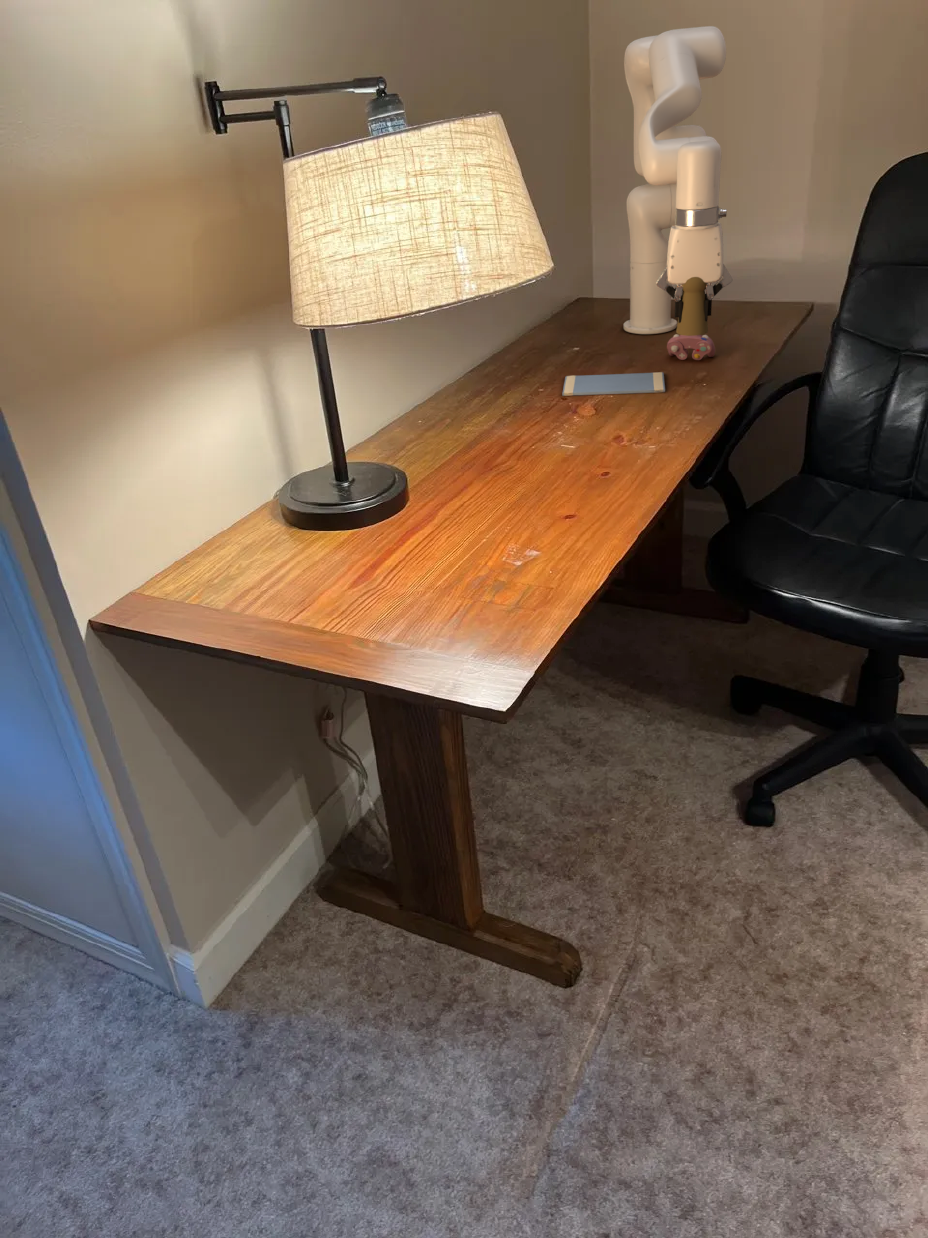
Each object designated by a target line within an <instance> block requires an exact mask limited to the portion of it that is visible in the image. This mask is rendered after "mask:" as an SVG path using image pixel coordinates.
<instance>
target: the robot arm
mask: <svg viewBox="0 0 928 1238" xmlns="http://www.w3.org/2000/svg"><path fill="white" fill-rule="evenodd" d="M726 43H727V42H726V40H725V36H724V34H723V32H722V30H721V29H719V27H717V26H714V25H707V26H695V27H687V28H675V29H670V30H666V31H663V32H662V33H660V34H657V35H650V36H645V37H640V38H637V39H634V40H633V41H631V42H630V43H629V44H628V45H627V46H626V48H625V50H624V57H623V66H624V67H623V68H624V76H625V81H626V84H627V88H628V91H629V94H630V97H631V101H632V107H633V166H634V169H635V172H636V173H637V174H638V175H639V176H641V177H643V178H644V179H645V181H646V183H645V184H641V185H638V186H636V187H634V188H633V189H631V190H630V192H629V193H628V195H627V198H626V214H627V221H628V229H629V230H628V231H629V243H630V245H629V246H630V247H629V248H630V249H629V251H630V254H629V256H630V257H629V259H630V260H629V269H630V270H629V320H626V321H624V323H623V330H624V331H625V332H627V333H630V334H636V335H656V334H664V333H667V332H672V331H674V330H675V329H677V323H678V320H676V319H675V318H678V317H679V323H680V322H681V319H682V311H683V301H682V292H683V291H682V290H683V287H682V284H684V283H686V281H687V280H688V279H690V278H692V277H699V278H701V279H702V280H703V281H704V282H705V283H707V284H706V289H705V300H704V312H705V321H707V322H708V317H711V316H712V309H713V308H712V307H713V306H712V305H713V299H714V298H715V296H717V294H719V293H720V292H721V290H722V289H723V288H725V287H727V286H728V285H730V284H731V283H732V282H733V277H732V275H731V273H730V272H729V270H728V269H727V267H726V265H725V264H724V240H723V239H724V237H723V227H722V223H721V222H719V220H720V219H722V218H727V215H728V214H727V211H728V209H727V208H721V207H720V186H721V166H722V165H721V164H722V147H721V144H720V143H719V142H718V141H717V140H716V138H714V137H713V136H708V134H707V133H706V130H705V129H704V128H703V127H702V126H701V125H699V124H698V125H697V124H686V125H685V124H684V125H679V124H680V123H682V122H683V121H685V120H687V119H688V118H689V117H691V116H692V115H693V114H694V113H695V112H696V111H697V110H698V108H699V106H700V105H701V103H702V99H703V92H702V87H701V83H700V82H701V80H705V79H711V78H714V77H718V75H720V73H721V72H722V71H723V70H724V67H725V65H726V60H727V44H726ZM666 229H670V231H669V234H668V235H669V236H668V238H667V237H665V235H664V234H663V233H662V231H663V230H666ZM713 283H715V284H714V285H713ZM673 285H675V287H674V286H673ZM672 299H673V300H674V318H672V314H671V313H672Z"/></svg>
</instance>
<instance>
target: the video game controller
mask: <svg viewBox="0 0 928 1238" xmlns="http://www.w3.org/2000/svg"><path fill="white" fill-rule="evenodd" d="M688 349H689V350H690V349H691V350H692V354H691V358H692V359H693V360H695V361H700V360H702V359H703V357H704V356H706V355H707V356H708V357H709V358H713V357H714V356H715V354H716V347H715V343H714V341H713V339H712V338H711V337H709V335H708V334H702V335H696V336H684V335H679V334H677V333H675V334H674V335H673V336H672V337H671V338H669V340H668V341H667V343H666V350H667V352H668V355H669V356H670V357H674V356H676V358H677V359H678V360H682V361H683V360H686V359H687V358H688V356H689V350H688Z"/></svg>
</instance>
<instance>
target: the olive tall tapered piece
mask: <svg viewBox="0 0 928 1238" xmlns="http://www.w3.org/2000/svg"><path fill="white" fill-rule="evenodd" d="M706 284H707V283H705V282H704V281H703V280H702V279H701V278H699V277H692V278H690V279H688V280H687V281H686V283H684V284H682V287H683V290H682V301H683V311H682V319H681V322H680V323H679V317H677V327H676V328H675V329H676V331H675V334H678V335H684V336H696V335H702V336H703V335H706V334H707V333H708V332H709V325H708V320H707V321H705V312H704V300H705V294H706Z"/></svg>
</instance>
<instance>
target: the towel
mask: <svg viewBox="0 0 928 1238" xmlns="http://www.w3.org/2000/svg"><path fill="white" fill-rule="evenodd" d="M664 375H665V373H664V372H663V371H660V372H658V371H657V372H638V373H637V372H636V373H615V374H614V373H613V374H589V375H588V374H586V375H584V374H583V375H566V376H565V378H564V383H563V387H562V388H563V390H562V394H561V395H562V396H563V397H568V396H569V397H570V396H592V395H593V396H594V395H596V396H597V395H619V394H620V395H622V394H648V393H650V394H653V393H654V394H655V393H666V385H665V376H664Z"/></svg>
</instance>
